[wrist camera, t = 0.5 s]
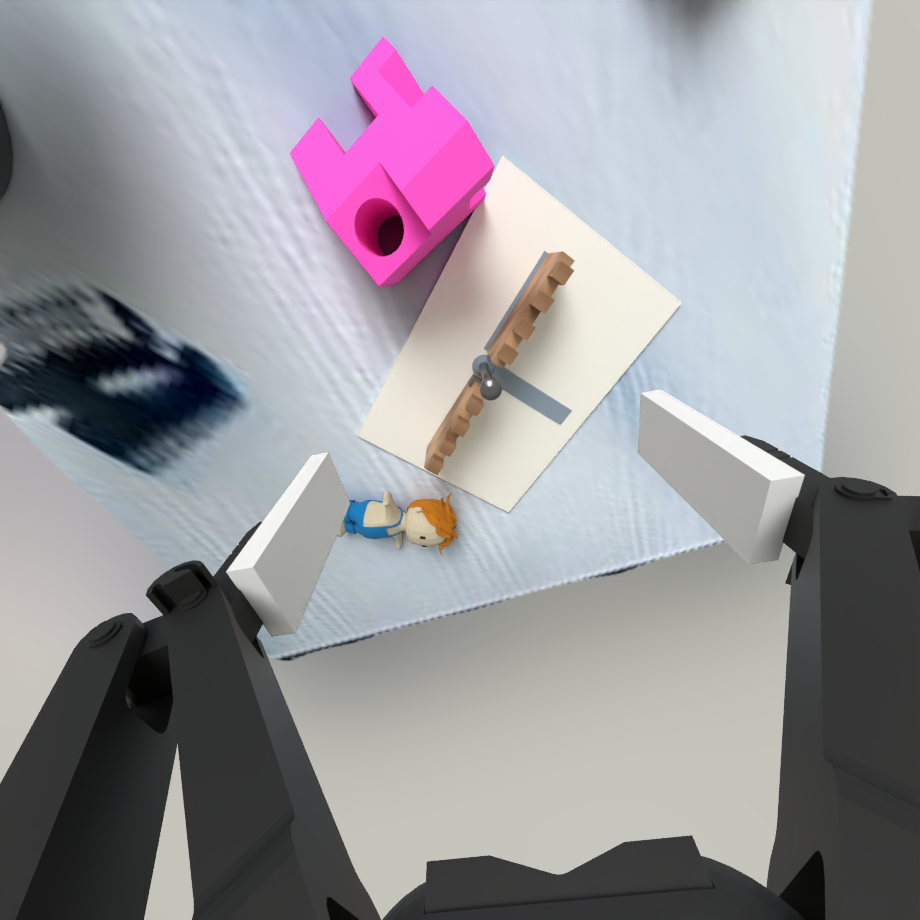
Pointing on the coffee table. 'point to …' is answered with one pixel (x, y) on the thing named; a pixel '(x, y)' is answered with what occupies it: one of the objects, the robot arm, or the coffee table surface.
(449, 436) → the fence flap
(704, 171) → the coffee table surface
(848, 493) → the robot arm
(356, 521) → the toy
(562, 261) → the fence fixed
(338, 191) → the bracket
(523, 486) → the card
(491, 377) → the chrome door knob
